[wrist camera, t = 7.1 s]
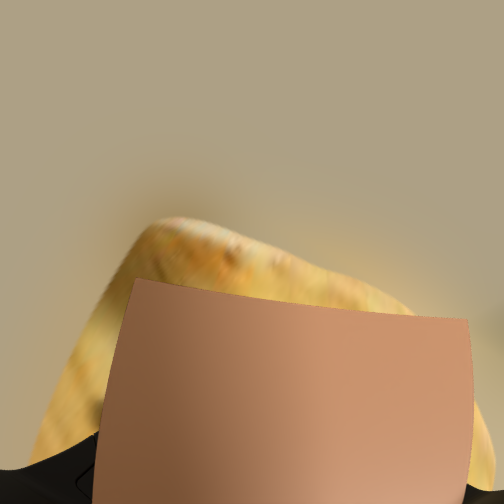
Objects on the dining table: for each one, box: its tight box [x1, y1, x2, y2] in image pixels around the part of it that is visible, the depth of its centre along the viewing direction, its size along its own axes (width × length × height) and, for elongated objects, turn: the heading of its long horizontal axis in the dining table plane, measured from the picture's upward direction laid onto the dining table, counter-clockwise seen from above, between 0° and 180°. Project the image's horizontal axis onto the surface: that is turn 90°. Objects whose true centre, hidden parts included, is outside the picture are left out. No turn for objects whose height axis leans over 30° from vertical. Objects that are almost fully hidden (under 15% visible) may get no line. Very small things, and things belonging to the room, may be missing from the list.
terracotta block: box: [92, 277, 474, 504], centre depth 7 cm, size 5×5×12 cm
